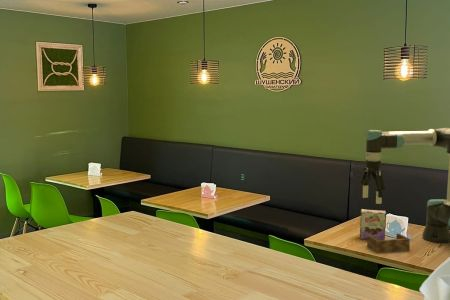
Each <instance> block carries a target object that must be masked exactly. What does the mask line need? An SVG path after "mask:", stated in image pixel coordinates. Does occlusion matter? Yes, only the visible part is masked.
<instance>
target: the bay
mask: <svg viewBox="0 0 450 300" xmlns="http://www.w3.org/2000/svg"><path fill="white" fill-rule="evenodd" d="M366 240H367V241H366V242H367V243H366V247H368V248H369V249H371V250H372V249H373V250H372V251H374V252H375V253H386V252H385V251H389V252H398V251H409V250H410V245H411V244H410V240H411V239H410V238H409V237H407V236H405V235H402V234H401V233H399V232H398V233H396V237H395V238H392V239H385V240H377V239H375V238H374V237H372V236H370V235H368V238H367V239H366Z"/></svg>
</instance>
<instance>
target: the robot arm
mask: <svg viewBox="0 0 450 300" xmlns="http://www.w3.org/2000/svg"><path fill="white" fill-rule="evenodd" d="M365 137H366V139H365V140H366V141H365V142H366V143H365V146H366V147H365V167H364V168H363V174H362V177H361V181H360V184H362V198H363V199H365V198H368V199H369V183H370V181H371V180H373V182H374V185H375V187H376V191H375V193H376V195H375V197H376V198H375V204H377V205H378V204H379V205H381V204H382V203H383V202H382V199H383V191H386V187H385V183H384V178H383V171H382V170H379V169H380V168H381V167H382V161H381V160H382V149H401V148H403V146H415V145H416V146H417V145H418V146H419V145H421V146H423V145H428V146H430V147H438V148H443V149H446V155H448V157H449V160H448V161H449V163H448V172H447V173H448V175H447V189H446V192H447V193H446V199H444V198H443V199H442V198H441V199H439V198H438V199H437V198H436V199H435V198H434V199H429V200H428V201H427V204H426V218H425V219H426V223H425V227H424V230H423V232H422V235H421V237H422V239H423V240H425V241H428V242H433V243H440V244H445V243H450V127H442V128H441V127H440V128H429V129H428V130H415V131H414V130H413V131H410V130H409V131H406V130H405V131H399V130H398V131H383V130H378V129H369V130H367V131H366V136H365Z"/></svg>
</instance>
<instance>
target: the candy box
mask: <svg viewBox="0 0 450 300" xmlns="http://www.w3.org/2000/svg"><path fill="white" fill-rule="evenodd" d="M386 215H387V212H386V210H378V209H377V210H376V209H375V210H374V209H363V208H361V210H360V220H359V239H361V240H367V238H368V235H370V236H372V237H374V238H375V239H377V240H386V239H385V238H386V217H387V216H386Z"/></svg>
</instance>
